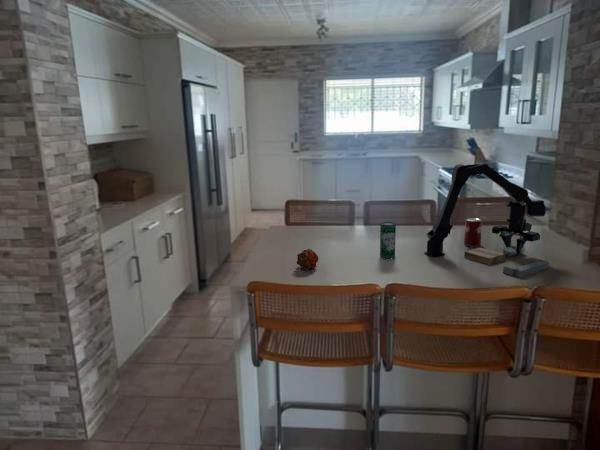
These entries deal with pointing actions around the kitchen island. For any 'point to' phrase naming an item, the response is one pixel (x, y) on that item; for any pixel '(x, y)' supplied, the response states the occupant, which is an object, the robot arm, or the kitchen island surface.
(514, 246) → the roller
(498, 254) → the slab
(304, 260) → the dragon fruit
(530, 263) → the stop cradle
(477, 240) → the soda can
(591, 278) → the kitchen island surface
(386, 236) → the can
